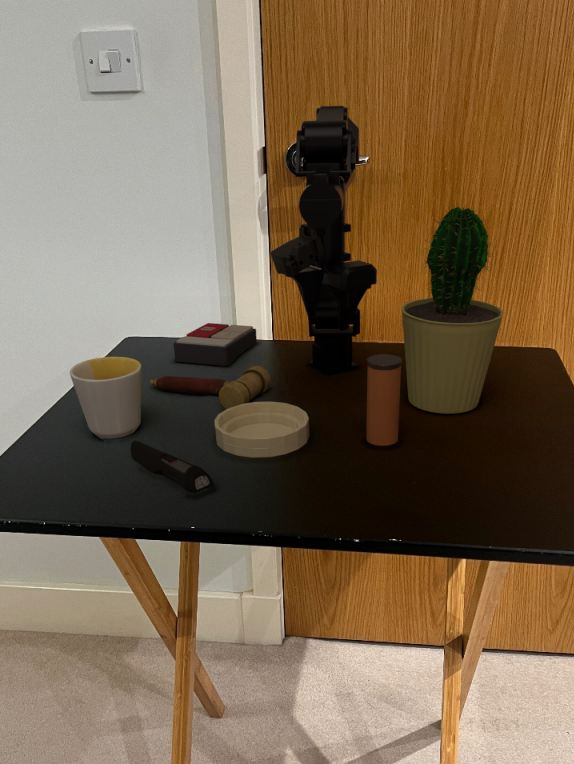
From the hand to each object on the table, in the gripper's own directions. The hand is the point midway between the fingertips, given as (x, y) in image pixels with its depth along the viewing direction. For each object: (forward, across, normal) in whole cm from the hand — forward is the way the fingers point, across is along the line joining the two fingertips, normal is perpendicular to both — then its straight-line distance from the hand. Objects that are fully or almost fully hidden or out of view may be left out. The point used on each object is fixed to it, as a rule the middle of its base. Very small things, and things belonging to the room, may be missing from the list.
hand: (326, 323), depth 118 cm
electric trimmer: (+14, +10, -32) cm, 36 cm away
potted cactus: (+13, +10, +16) cm, 23 cm away
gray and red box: (+13, -34, -4) cm, 37 cm away
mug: (+13, -9, -32) cm, 36 cm away
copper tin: (+13, +18, -2) cm, 22 cm away
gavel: (+13, -14, -16) cm, 25 cm away
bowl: (+13, +7, -16) cm, 22 cm away
